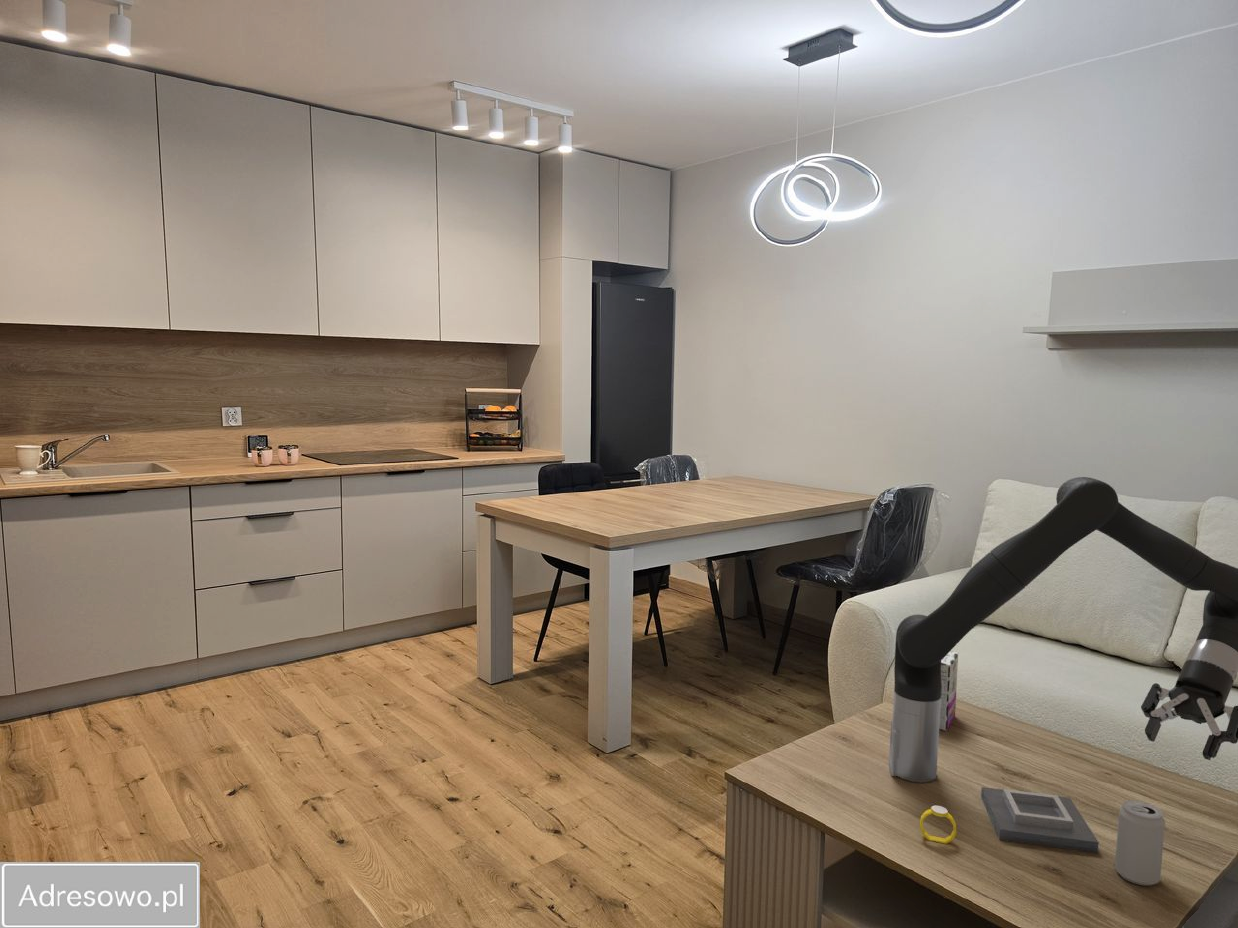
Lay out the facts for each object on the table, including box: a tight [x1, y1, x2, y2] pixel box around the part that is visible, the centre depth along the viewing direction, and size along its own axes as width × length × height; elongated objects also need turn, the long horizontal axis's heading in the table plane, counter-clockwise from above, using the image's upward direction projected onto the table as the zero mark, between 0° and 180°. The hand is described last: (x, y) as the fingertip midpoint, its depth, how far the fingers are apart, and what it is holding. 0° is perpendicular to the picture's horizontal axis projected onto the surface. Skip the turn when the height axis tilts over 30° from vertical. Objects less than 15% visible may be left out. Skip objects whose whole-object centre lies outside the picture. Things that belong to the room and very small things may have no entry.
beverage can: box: [1114, 800, 1166, 887], centre depth 134 cm, size 6×6×12 cm
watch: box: [919, 805, 957, 845], centre depth 145 cm, size 6×3×6 cm, turn 69°
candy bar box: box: [939, 650, 959, 732], centre depth 196 cm, size 11×5×16 cm, turn 148°
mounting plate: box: [980, 786, 1100, 854], centre depth 151 cm, size 16×16×4 cm
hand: (1177, 747), depth 140 cm, fingers open, 8 cm apart
